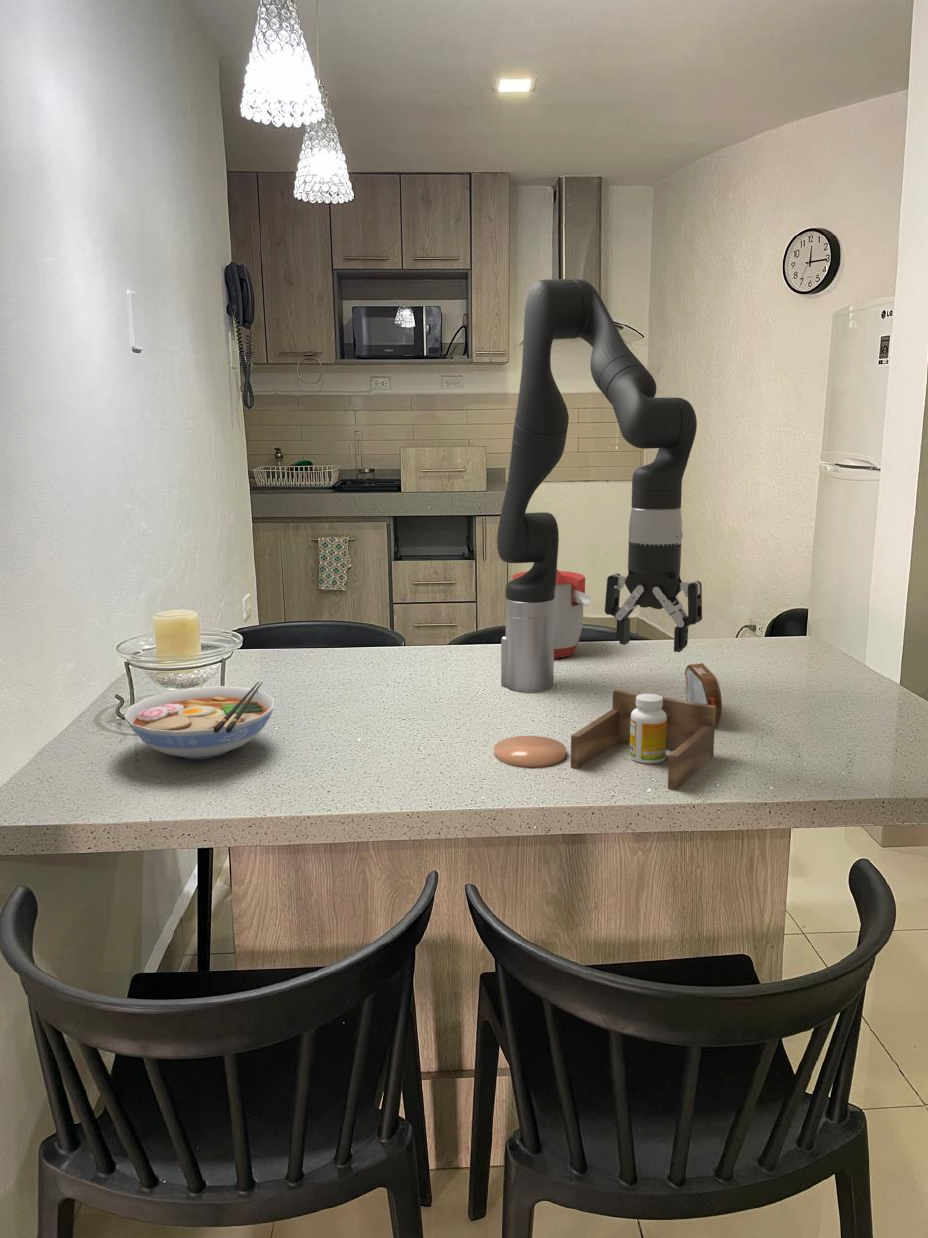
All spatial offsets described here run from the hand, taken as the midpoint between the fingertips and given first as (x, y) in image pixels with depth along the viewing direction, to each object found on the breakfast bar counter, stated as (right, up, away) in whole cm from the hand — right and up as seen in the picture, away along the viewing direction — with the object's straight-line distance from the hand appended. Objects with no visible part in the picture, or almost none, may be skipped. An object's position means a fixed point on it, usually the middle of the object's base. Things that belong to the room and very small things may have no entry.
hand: (651, 647), depth 141 cm
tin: (+13, -13, +23) cm, 30 cm away
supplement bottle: (0, -17, +4) cm, 18 cm away
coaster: (-18, -17, +6) cm, 25 cm away
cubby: (-1, -17, +3) cm, 17 cm away
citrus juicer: (-9, -3, +65) cm, 66 cm away
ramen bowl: (-69, -17, +8) cm, 71 cm away
